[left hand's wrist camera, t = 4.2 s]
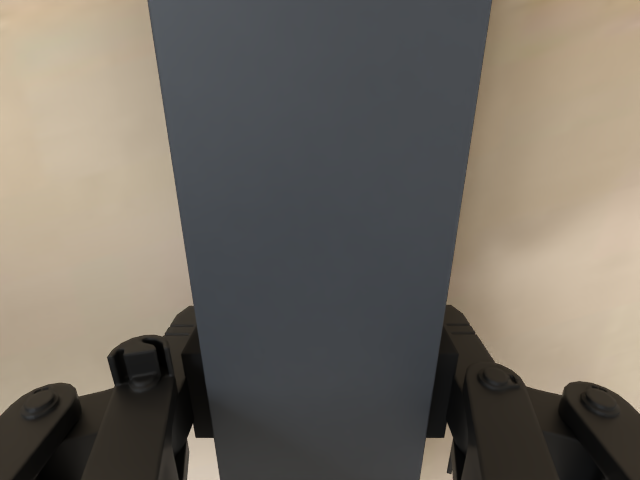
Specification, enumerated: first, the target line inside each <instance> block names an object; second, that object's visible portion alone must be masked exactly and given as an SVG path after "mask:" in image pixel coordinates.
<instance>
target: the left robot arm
mask: <svg viewBox="0 0 640 480" xmlns="http://www.w3.org/2000/svg"><path fill="white" fill-rule="evenodd" d="M107 359H108V362H109V366H110V370H111V373H112V377H113V381H114V384H115V387H114V388H112V389H108V390H105V391H101V392H97V393H92V394H88V395H84V396H79V397H78V394H77V391H76V389H75V388H74V387H73V386H72V385H71V384H66V383H55V384H48V385H46V386H43V387H40V388H37V389H34V390H33V391H31V392H29V393H27V394H25V395H23V396H22V397H20V398H19V399H18V400H17V401H16V402H14V403H13V404H12V405H11V406H10V407H9V408H8V409H7V410H6V411H5V412H4V413H3V414H2V415H1V416H0V480H187V473H188V461H189V447H188V442H187V437H188V435H189V432H190V429H191V427H192V424H193V425H194V431H195V437H196V438H214V435H213V429H212V422H211V416H210V409H209V402H208V396H207V389H206V383H205V376H204V370H203V363H202V356H201V350H200V343H199V337H198V330H197V323H196V317H195V310H194V306H189V307H187V308H186V309H184V310H183V311H182V312H180V313H179V314H178V315H177V316H176V317H175V319H174V320H173V322H172V323H171V325H170V327H169V328H168V330H167V331H166V333H165V336H163V337H161V336H157V335H143V336H139V337H135V338H132V339H130V340H127V341H125V342H123V343H121V344H120V345H118V346H117V347H116V348H114V349H113V350H112V351H111V353H110V354H109V355H108V357H107ZM447 423H448V426H449V428H450V431H451V433H452V436H453V442H452V447H451V452H450V457H449V463H448V469H447V473H449V474H451V473H452V472H453V480H640V414H639V413H638V412H637V411H636V410H635V409H634V408H633V407H632V406H631V405H630V404H629V403H628V402H627V401H626V400H624V399H623V398H622V397H621V396H619V395H618V394H616V393H614V392H612V391H611V390H609V389H607V388H605V387H602V386H599V385H596V384H593V383H588V382H581V381H578V382H571V383H569V384H568V385H567V386H565V387H564V391H563V394H562V395H558V394H554V393H550V392H545V391H541V390H536V389H533V388H530V387H526V386H525V384H524V382H523V381H522V379H521V378H520V377H519V376H518V375H517V374H516V373H514V372H513V371H512V370H510V369H508V368H506V367H505V366H503V365H500V364H497V363H495V362H494V360H493V359H492V357H491V356H490V354H489V353H488V351H487V350H486V348H485V347H484V345H483V344H482V342H481V340H480V339H479V337H478V336H477V335H475V331H474V330H473V328H472V327H471V326H470V324H469V322H468V321H467V319H466V318H465V316H464V315H463V313H461V312H460V311H458V310H457V309H456V308H454V307H453V306H452V305H446V308H445V315H444V321H443V328H442V334H441V341H440V348H439V354H438V361H437V367H436V374H435V381H434V387H433V394H432V401H431V407H430V414H429V420H428V427H427V434H426V438H444V436H445V430H446V424H447Z"/></svg>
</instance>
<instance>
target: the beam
mask: <svg viewBox="0 0 640 480" xmlns="http://www.w3.org/2000/svg"><path fill="white" fill-rule="evenodd" d="M491 4H492V0H148V7H149V13H150V20H151V27H152V33H153V40H154V46H155V53H156V60H157V66H158V73H159V79H160V86H161V93H162V99H163V106H164V112H165V119H166V125H167V132H168V139H169V145H170V152H171V158H172V165H173V172H174V178H175V185H176V191H177V198H178V205H179V211H180V218H181V224H182V231H183V238H184V244H185V251H186V257H187V264H188V271H189V277H190V284H191V290H192V297H193V304H194V310H195V317H196V323H197V330H198V337H199V343H200V350H201V356H202V363H203V370H204V376H205V383H206V389H207V396H208V402H209V409H210V416H211V422H212V429H213V435H214V442H215V449H216V455H217V462H218V468H219V475H220V480H420V473H421V467H422V460H423V454H424V447H425V440H426V434H427V427H428V420H429V414H430V407H431V401H432V394H433V387H434V381H435V374H436V367H437V361H438V354H439V348H440V341H441V334H442V328H443V321H444V315H445V308H446V301H447V295H448V288H449V281H450V275H451V268H452V262H453V255H454V248H455V242H456V235H457V229H458V222H459V215H460V209H461V202H462V195H463V189H464V182H465V176H466V169H467V162H468V156H469V149H470V143H471V136H472V129H473V123H474V116H475V109H476V103H477V96H478V90H479V83H480V76H481V70H482V63H483V56H484V50H485V43H486V37H487V30H488V23H489V17H490V10H491Z"/></svg>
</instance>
